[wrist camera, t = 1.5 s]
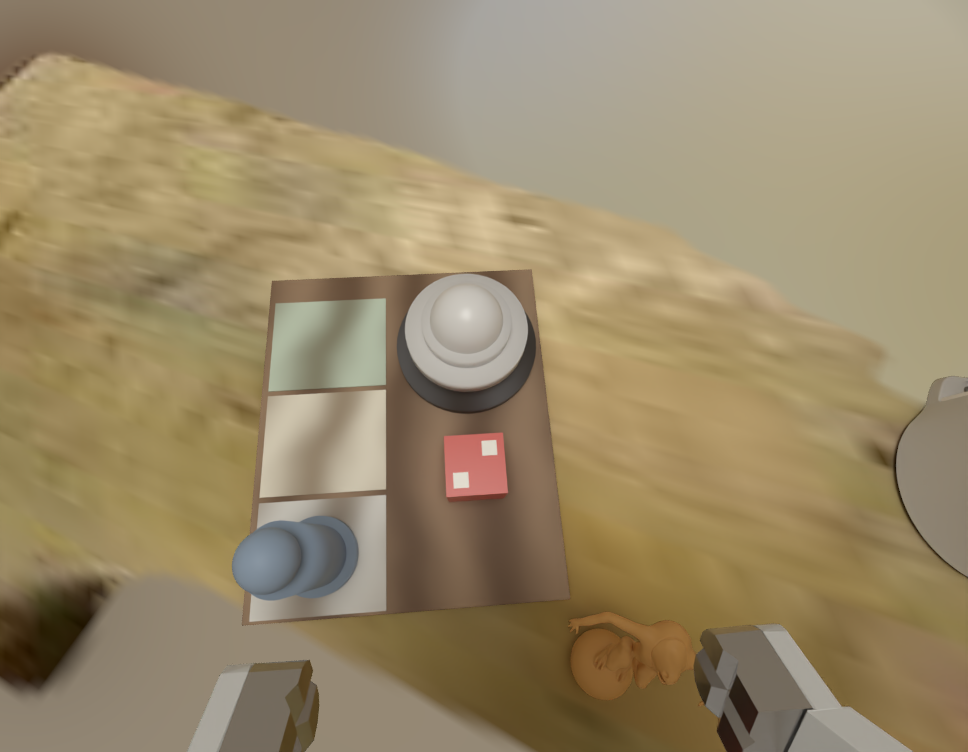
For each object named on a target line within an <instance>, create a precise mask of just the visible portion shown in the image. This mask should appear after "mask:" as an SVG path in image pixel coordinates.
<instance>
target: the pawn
mask: <svg viewBox="0 0 968 752" xmlns="http://www.w3.org/2000/svg"><path fill="white" fill-rule="evenodd" d="M358 554H359V551H358V543H357V539H356V537H355V535H354V533H353V531H352V530H351V529H350V527H349V526H348V525H347V524H345V523H344V522H342V521H341V520H339V519H336V518H333V517H328V516H313V517H309V518H306V519H304V520H302V521H300V522H293V521H285V520H279V521H273V522H269V523H267V524H265V525H263V526H261V527H259V528H258V529H257V530H255V531H254V532H253V533H251V534H250V535H248V536H247V537H246V538H245V539H244V540H243V541H242V542H241V543H240V545H239V546H238V548H237V549H236V551H235V554H234V557H233V561H232V571H233V575H234V578H235V580H236V582H237V583H238V584H239V586H240V587H241V588H243V589H244V590H245V591H247V592H249V593H250V594H252V595H253V596H255V597H257V598H259V599H262V600H267V601H275V600H280V599H284V598H287V597H290V596H294V595H298V596H300V597H304V598H320V597H323V596H326V595H329V594H331V593H333V592H335V591H337V590H339V589H340V588H341V587H342V586H344V585H345V584H346V583H347V581H348V580H349V579H350V578H351V576H352V574H353V572H354V570H355V568H356V565H357V561H358Z"/></svg>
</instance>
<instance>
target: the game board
mask: <svg viewBox="0 0 968 752" xmlns="http://www.w3.org/2000/svg"><path fill="white" fill-rule="evenodd" d="M456 274H476V275H481V276H485V277H488V278H491V279H494V280H495V281H497V282H499V283H501V284H502V285H504V286H505V287H507V288H508V289H509V290H510V291H511V292H512V293H513V294H514V295H515V296H516V297H517V299H518V300H519V302H520V303H521V305H522V307H523V309H524V312H525V315H526V318H527V324H528V335H527V341H526V345H525V349H524V352H523V355H522V358H521V360H520V362H519V364H518V365H517V367H516V368H515V369H514V371H513V372H512V373H511V374H510V375H509V376H508V377H507V378H506V379H504V380H503V381H502V382H500V383H498V384H496V385H495V386H493V387H490V388H487V389H484V390H480V391H474V392H459V391H453V390H449V389H446V388H443V387H441V386H438V385H437V384H435V383H433V382H432V381H430V380H429V379H428V378H426V377H425V376H424V375H423V374H422V373H421V372H420V371H419V369H418V368H417V367H416V365H415V363H414V362H413V360H412V357H411V355H410V352H409V349H408V346H407V342H406V338H405V322H406V317H407V314H408V311H409V308H410V306H411V304H412V303H413V301H414V300H415V298H416V297H417V296H418V295H419V294H420V292H421V291H422V290H424V289H425V288H426V287H427V286H429V285H430V284H432V283H433V282H435V281H437V280H439V279H441V278H444V277H447V276H451V275H456ZM487 433H503V439H504V451H505V463H506V475H507V487H508V494H507V495H506V496H505V497H504V498H500V499H486V500H471V501H457V502H449V501H448V499H447V497H446V476H445V453H444V436H454V435H471V434H487ZM313 516H328V517H333V518H336V519H339V520H341V521H342V522H344V523H345V524H347V525H348V526H349V527H350V529H351V530H352V531H353V533H354V535H355V537H356V539H357V543H358V551H359V554H358V561H357V565H356V568H355V570H354V572H353V574H352V576H351V578H350V579H349V580H348V581H347V583H346V584H345V585H344V586H342V587H341V588H340V589H339V590H337V591H335V592H333V593H331V594H329V595H326V596H323V597H320V598H304V597H300V596H298V595H294V596H290V597H287V598H284V599H280V600H275V601H267V600H262V599H259V598H257V597H255V596H253V595H252V594H250V593H249V592H247V591H245V594H244V606H243V617H242V626H243V625H256V624H268V623H281V622H293V621H305V620H318V619H330V618H343V617H355V616H367V615H380V614H392V613H405V612H417V611H429V610H442V609H454V608H466V607H479V606H491V605H504V604H516V603H528V602H541V601H553V600H565V599H570V592H569V584H568V575H567V567H566V558H565V550H564V541H563V533H562V524H561V516H560V507H559V499H558V490H557V482H556V473H555V465H554V456H553V448H552V439H551V431H550V422H549V414H548V405H547V397H546V388H545V380H544V371H543V363H542V354H541V346H540V338H539V329H538V321H537V312H536V304H535V295H534V287H533V278H532V270H509V271H487V272H464V273H442V274H419V275H397V276H374V277H351V278H329V279H306V280H284V281H272V286H271V298H270V309H269V321H268V332H267V343H266V355H265V366H264V378H263V389H262V400H261V412H260V423H259V435H258V446H257V458H256V469H255V480H254V492H253V503H252V515H251V526H250V534H251V533H253V532H254V531H255V530H257V529H258V528H259V527H261V526H263V525H265V524H267V523H269V522H273V521H279V520H285V521H293V522H300V521H302V520H304V519H306V518H309V517H313Z"/></svg>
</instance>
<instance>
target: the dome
mask: <svg viewBox="0 0 968 752" xmlns="http://www.w3.org/2000/svg"><path fill="white" fill-rule="evenodd" d="M527 335H528V324H527V318H526V315H525V312H524V309H523V307H522V305H521V303H520V302H519V300H518V299H517V297H516V296H515V295H514V294H513V293H512V292H511V291H510V290H509V289H508V288H507V287H505V286H504V285H502V284H501V283H499V282H497V281H495V280H494V279H491V278H488V277H485V276H481V275H476V274H456V275H451V276H447V277H444V278H441V279H439V280H437V281H435V282H433V283H432V284H430V285H429V286H427V287H426V288H425V289H424V290H422V291H421V292H420V294H419V295H418V296H417V297H416V298H415V300H414V301H413V303H412V304H411V306H410V308H409V311H408V314H407V317H406V322H405V338H406V342H407V346H408V349H409V352H410V355H411V357H412V360H413V362H414V363H415V365H416V367H417V368H418V369H419V371H420V372H421V373H422V374H423V375H424V376H425V377H426V378H428V379H429V380H430V381H432V382H433V383H435V384H437V385H438V386H441V387H443V388H446V389H449V390H453V391H459V392H474V391H480V390H484V389H487V388H490V387H493V386H495V385H496V384H498V383H500V382H502V381H503V380H504V379H506V378H507V377H508V376H509V375H510V374H511V373H512V372H513V371H514V369H515V368H516V367H517V365H518V364H519V362H520V360H521V358H522V355H523V352H524V349H525V345H526V341H527Z"/></svg>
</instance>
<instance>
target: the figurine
mask: <svg viewBox="0 0 968 752" xmlns="http://www.w3.org/2000/svg"><path fill="white" fill-rule="evenodd" d="M568 622H571V624H569V625H568V627H571V626H572V628H571V630H570V632H572V631H573V630H574V629H576V634H578V631H579V626H591V625H596V624H599V623H611V624H613V625H615V626H616V627H618V628H620V629H621V630H623V631H625V632H627V633H629V634H631V635H633V636H634V637H636V638H637V639H638V640H639V642H635V641H634V640H633V639H632V638H630V637H628V636H624V637H622V638H620V637H619V636H617V635H616V634H614V633H613V632H611V631H608V630H605V629H591V630H588V631H586V632H584V633H583V634H582V635H580V636H579V637H578V639H577V640H576V642H575V643H574V645H573V648H572V651H571V669H572V673H573V675H574V678H575V680H576V682H577V683H578V685H579V686H580V687H581V688H582V690H583V691H585V692H586V693H587V694H588V695H590V696H592V697H594V698H596V699H600V700H612V699H615V698H618V697H620V696H621V695H622V694H624V693H625V692H626V690H627V689H628V688H629V686H630V684H631V681H632V678H633V672H634V678H635V682H636V684H637V686H638V687H639V688H641V689H644V688H646V687H647V685H648V683H649V682H651V681H652V680H653V679H654V678H655V677H656V676H657V675H658V678H659V680H660V681H661V683H662V684H664V685H668V684H669V685H672V684H674V683H676V682H677V681H678V679H679V678H680V675H681V673H682V672H684V671H686V670H694V667H693V665H694V661H695V656H696V653H695V652H694V651H693V649H692V645H691V638H690V636H689V634H688V633H687V631H686V630H685V629H684V628H683V627H682V626H681V625H680V624H678V623H676V622H674V621H669V620H664V621H660V622H657V623H655V624H653V625H651V626H647V625H643V624H638V623H636V622H633V621H631V620H629V619H627V618H625V617H622V616H620V615H617V614H615V613H612V612H602V613H599V614H596V615H591V616H586V617H584V618H580V619H578V618H574V619H571V620H569V621H568ZM702 705H704V703H703V701H701V702H700V703H699V704H698V706H702Z"/></svg>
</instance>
